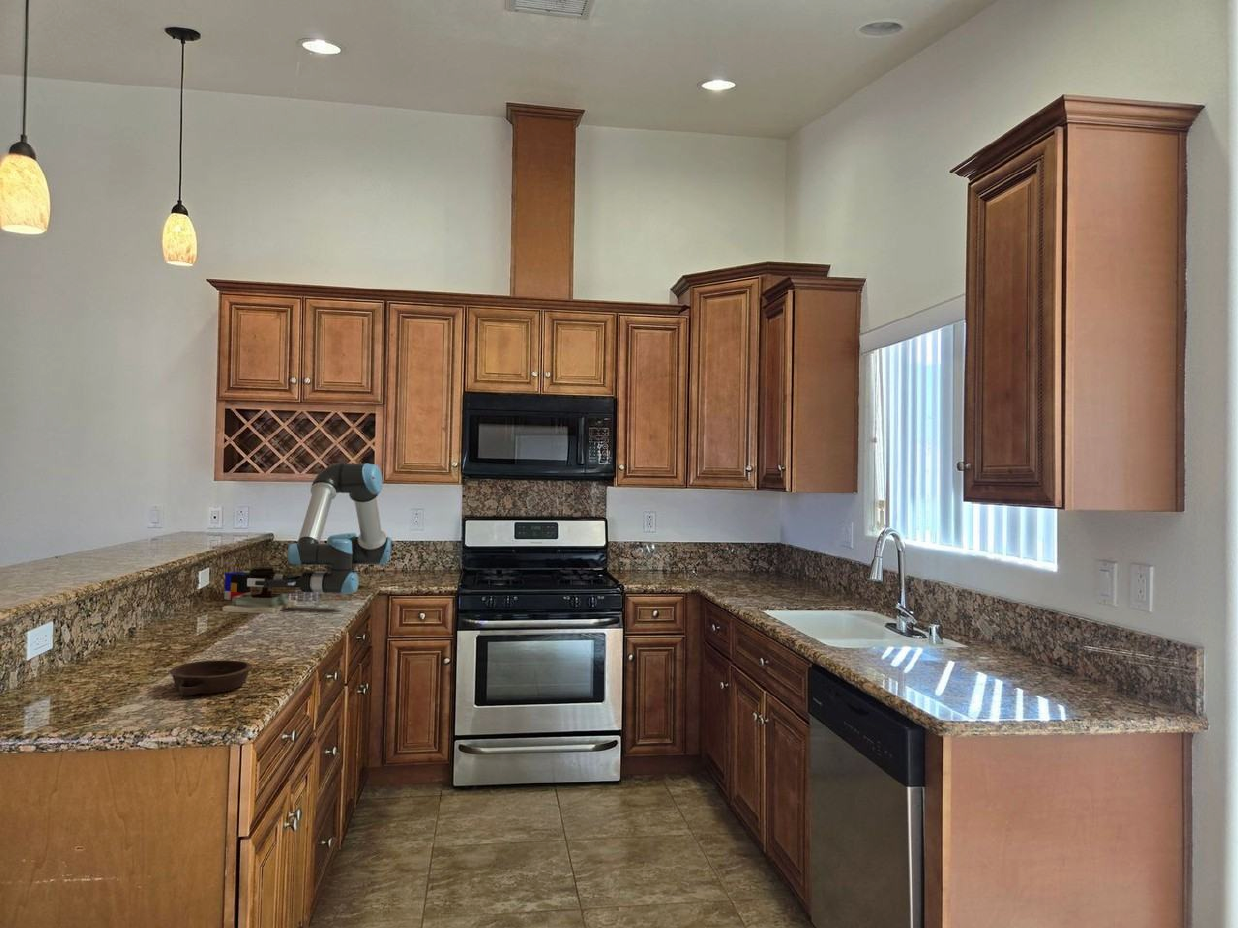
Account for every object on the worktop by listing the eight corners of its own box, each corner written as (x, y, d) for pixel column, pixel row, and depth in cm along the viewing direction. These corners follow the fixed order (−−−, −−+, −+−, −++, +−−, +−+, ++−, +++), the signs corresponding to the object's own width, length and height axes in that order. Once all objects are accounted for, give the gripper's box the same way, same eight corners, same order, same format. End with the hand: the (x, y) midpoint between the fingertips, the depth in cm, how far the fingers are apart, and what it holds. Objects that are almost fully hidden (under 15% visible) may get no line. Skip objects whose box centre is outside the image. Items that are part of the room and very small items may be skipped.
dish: (267, 678, 217) (268, 658, 217) (227, 702, 195) (227, 679, 195) (196, 676, 217) (197, 655, 217) (148, 699, 195) (149, 676, 195)
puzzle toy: (224, 599, 336) (225, 573, 336) (246, 596, 345) (247, 570, 345) (242, 601, 331) (243, 575, 331) (264, 598, 340) (265, 572, 340)
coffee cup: (257, 606, 313) (258, 569, 313) (242, 603, 317) (243, 567, 317) (278, 603, 320) (279, 567, 320) (264, 601, 324) (265, 565, 325)
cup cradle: (248, 602, 329) (249, 590, 329) (296, 604, 328) (296, 592, 328) (222, 611, 309) (223, 598, 309) (272, 613, 308) (273, 600, 308)
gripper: (299, 597, 305) (239, 595, 306) (326, 587, 330) (271, 585, 331) (300, 575, 305) (240, 573, 306) (327, 567, 330) (271, 565, 331)
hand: (256, 579), depth 319 cm, fingers open, 13 cm apart
